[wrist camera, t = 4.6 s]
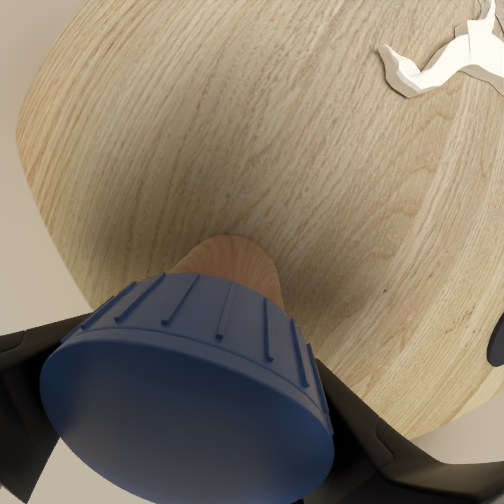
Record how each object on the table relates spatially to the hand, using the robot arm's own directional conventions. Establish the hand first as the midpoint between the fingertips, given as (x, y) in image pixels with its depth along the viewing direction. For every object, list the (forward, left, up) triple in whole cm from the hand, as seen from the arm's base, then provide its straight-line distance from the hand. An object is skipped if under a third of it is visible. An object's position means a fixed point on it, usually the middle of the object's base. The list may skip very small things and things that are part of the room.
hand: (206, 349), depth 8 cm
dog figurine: (+12, -23, -7) cm, 27 cm away
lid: (0, 0, +1) cm, 1 cm away
